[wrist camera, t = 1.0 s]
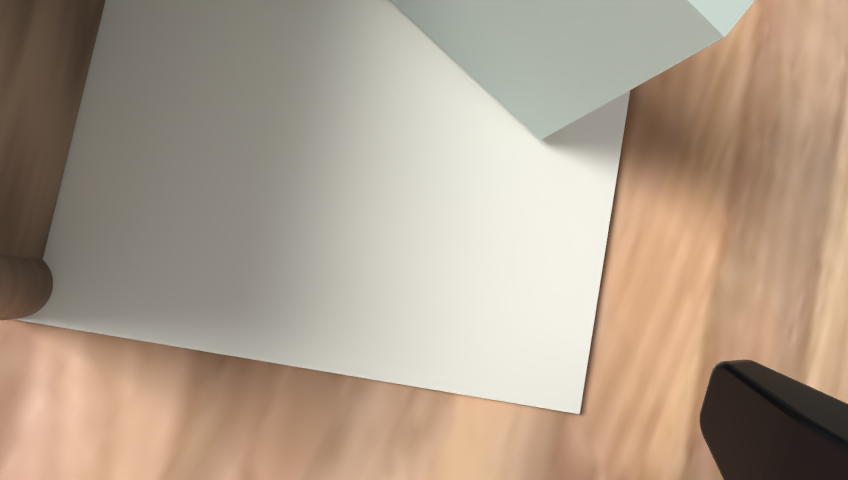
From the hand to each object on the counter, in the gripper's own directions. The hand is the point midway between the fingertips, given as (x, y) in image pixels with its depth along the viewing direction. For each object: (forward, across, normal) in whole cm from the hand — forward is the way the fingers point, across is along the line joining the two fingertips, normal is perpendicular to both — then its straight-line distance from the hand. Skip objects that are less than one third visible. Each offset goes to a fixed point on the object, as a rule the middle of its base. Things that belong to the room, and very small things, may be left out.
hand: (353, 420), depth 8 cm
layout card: (+17, -2, +1) cm, 18 cm away
